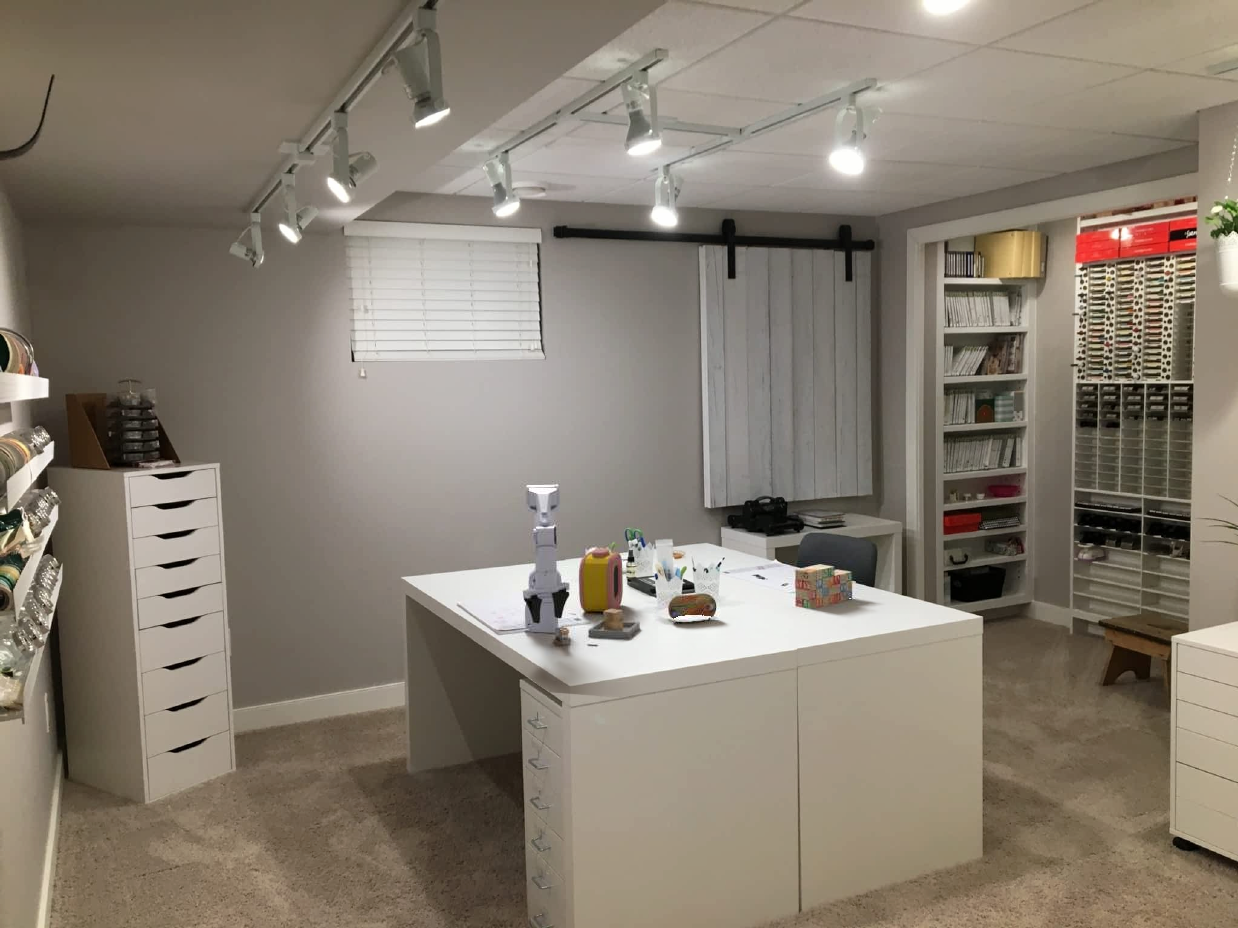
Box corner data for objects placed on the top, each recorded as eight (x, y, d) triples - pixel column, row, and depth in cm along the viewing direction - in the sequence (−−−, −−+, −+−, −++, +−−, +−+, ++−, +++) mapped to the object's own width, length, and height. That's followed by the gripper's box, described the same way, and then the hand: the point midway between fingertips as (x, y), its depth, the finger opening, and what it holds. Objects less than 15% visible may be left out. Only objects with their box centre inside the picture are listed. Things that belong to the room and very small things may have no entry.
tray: (588, 636, 292) (588, 629, 291) (601, 626, 303) (601, 620, 303) (628, 638, 288) (628, 632, 288) (639, 628, 300) (639, 622, 299)
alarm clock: (612, 616, 316) (611, 555, 314) (578, 615, 318) (576, 554, 317) (624, 603, 334) (622, 545, 332) (591, 602, 336) (590, 545, 335)
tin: (670, 624, 305) (670, 597, 304) (667, 622, 308) (666, 594, 307) (717, 620, 309) (716, 593, 308) (713, 617, 312) (712, 591, 311)
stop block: (603, 631, 295) (603, 611, 294) (612, 628, 298) (611, 608, 298) (614, 633, 292) (614, 612, 292) (623, 630, 296) (622, 610, 295)
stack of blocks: (837, 596, 339) (837, 560, 338) (852, 599, 334) (852, 562, 333) (795, 606, 326) (794, 568, 325) (810, 609, 321) (809, 571, 320)
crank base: (550, 645, 283) (549, 641, 283) (556, 640, 288) (556, 636, 288) (594, 647, 279) (594, 643, 279) (599, 643, 284) (599, 639, 284)
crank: (554, 637, 286) (553, 623, 285) (566, 636, 287) (566, 622, 286) (559, 645, 277) (559, 631, 276) (572, 644, 277) (572, 630, 277)
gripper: (534, 576, 264) (535, 627, 265) (576, 568, 274) (577, 617, 275) (517, 572, 269) (519, 623, 270) (559, 565, 279) (560, 613, 280)
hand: (547, 620), depth 273 cm, fingers open, 7 cm apart
